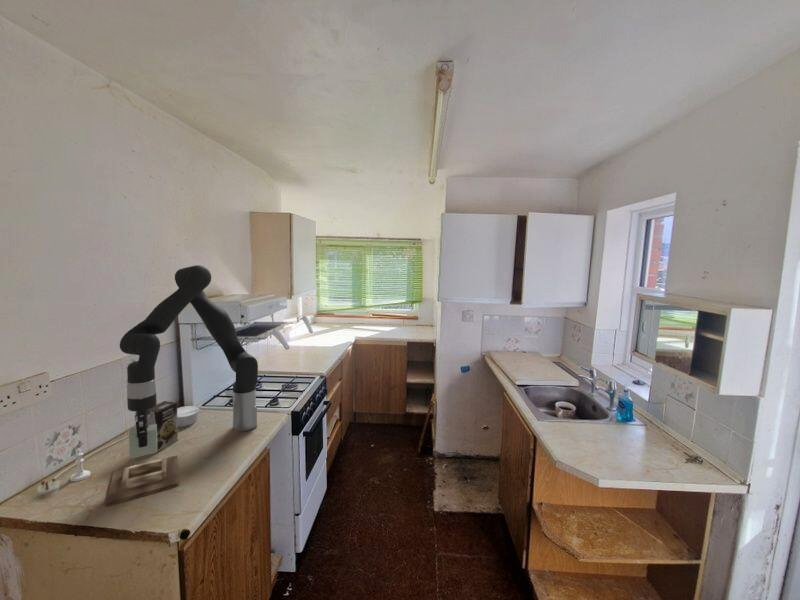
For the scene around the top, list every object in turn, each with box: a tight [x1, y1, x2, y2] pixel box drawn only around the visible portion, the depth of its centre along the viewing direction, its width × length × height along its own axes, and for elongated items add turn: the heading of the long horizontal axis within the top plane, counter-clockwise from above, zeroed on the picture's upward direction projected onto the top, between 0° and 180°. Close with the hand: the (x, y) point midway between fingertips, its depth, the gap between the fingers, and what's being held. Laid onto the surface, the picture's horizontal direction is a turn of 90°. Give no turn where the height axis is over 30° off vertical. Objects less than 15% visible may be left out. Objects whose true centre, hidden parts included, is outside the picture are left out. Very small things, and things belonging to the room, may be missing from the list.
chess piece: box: [69, 447, 91, 482], centre depth 110 cm, size 5×5×10 cm
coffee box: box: [149, 400, 179, 453], centre depth 131 cm, size 9×6×16 cm
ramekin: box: [177, 405, 200, 428], centre depth 150 cm, size 11×11×5 cm
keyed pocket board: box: [105, 454, 179, 507], centre depth 111 cm, size 18×18×4 cm
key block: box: [128, 424, 158, 459], centre depth 110 cm, size 4×7×8 cm, turn 124°
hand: (143, 442), depth 110 cm, fingers closed on key block, 4 cm apart
